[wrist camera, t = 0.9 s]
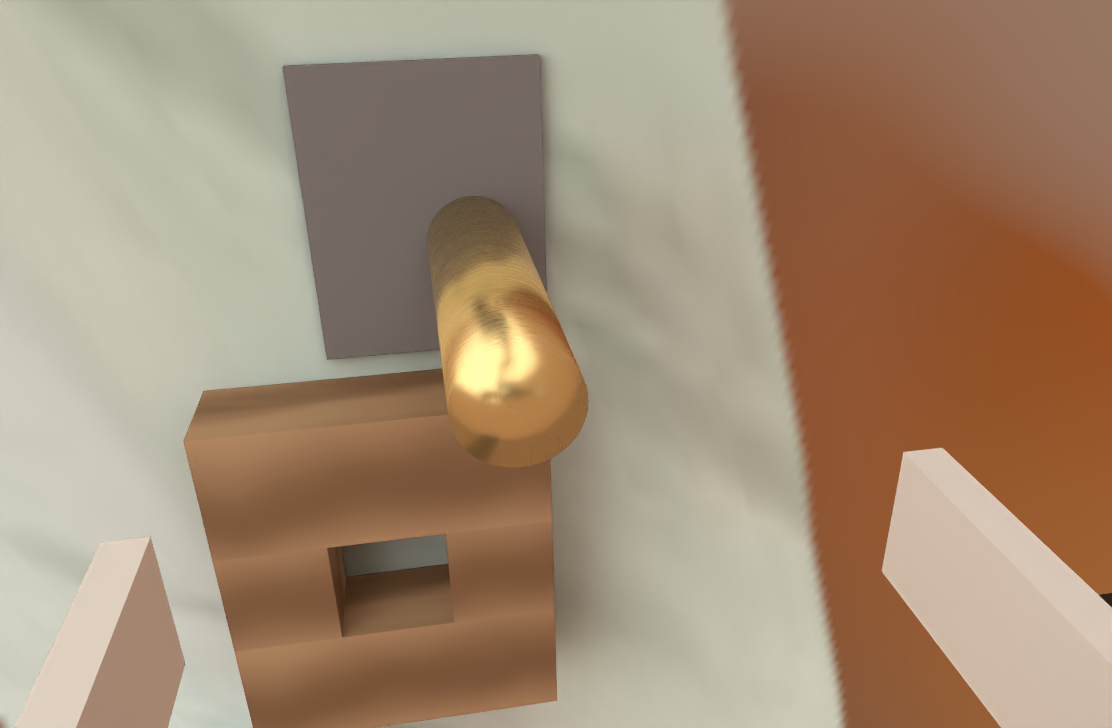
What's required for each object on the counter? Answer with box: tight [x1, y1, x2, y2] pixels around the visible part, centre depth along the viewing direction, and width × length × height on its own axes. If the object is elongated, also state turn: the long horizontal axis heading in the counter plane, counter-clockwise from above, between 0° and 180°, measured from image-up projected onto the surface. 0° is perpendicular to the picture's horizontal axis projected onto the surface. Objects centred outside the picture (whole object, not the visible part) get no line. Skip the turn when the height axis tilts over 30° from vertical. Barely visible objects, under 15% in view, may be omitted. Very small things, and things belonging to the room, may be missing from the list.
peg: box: [427, 196, 588, 468], centre depth 25 cm, size 3×3×12 cm
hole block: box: [184, 369, 557, 728], centre depth 34 cm, size 14×12×4 cm
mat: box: [283, 54, 547, 360], centre depth 30 cm, size 10×8×1 cm
